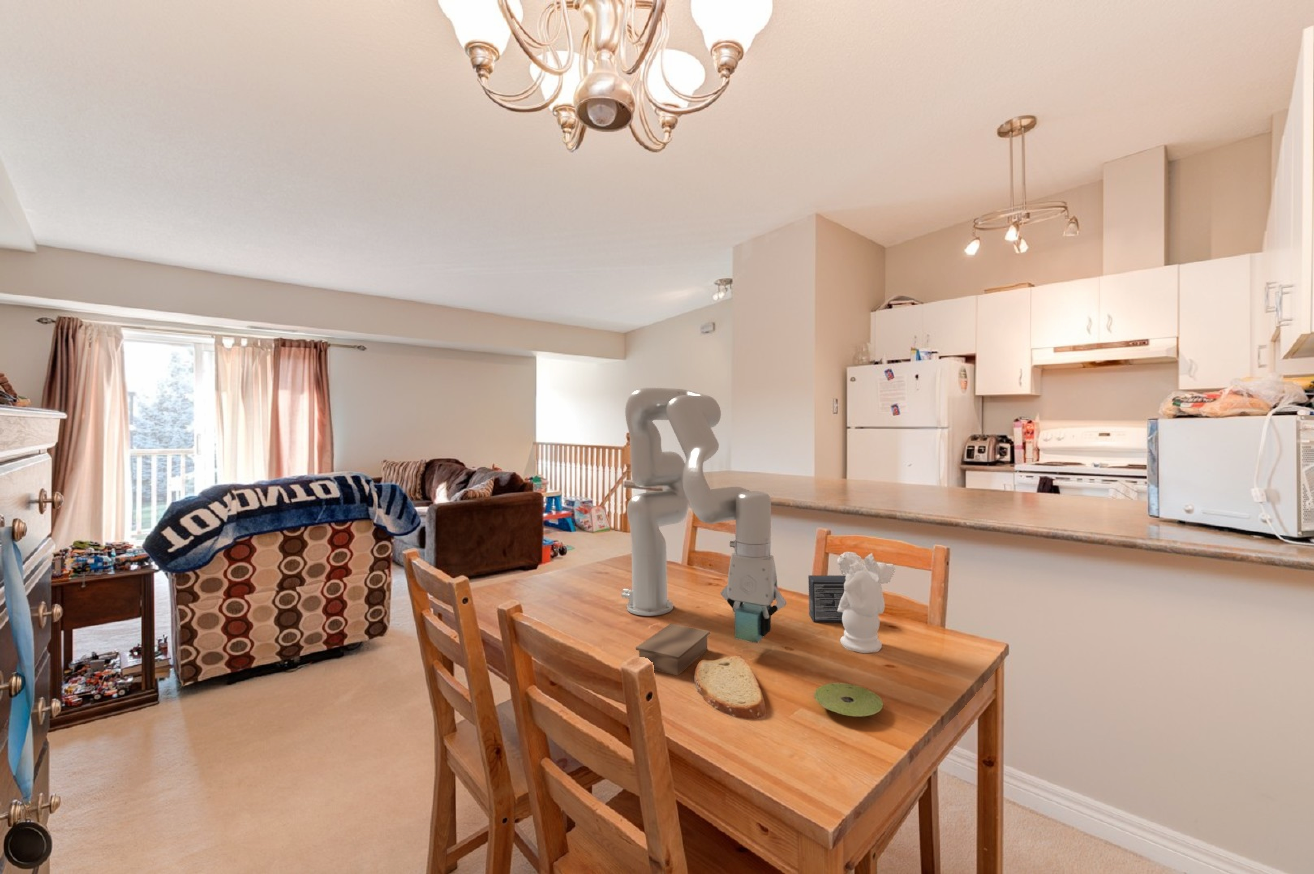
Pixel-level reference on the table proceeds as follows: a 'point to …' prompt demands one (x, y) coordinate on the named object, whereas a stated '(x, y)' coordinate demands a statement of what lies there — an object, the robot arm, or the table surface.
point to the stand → (674, 648)
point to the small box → (825, 597)
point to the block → (748, 622)
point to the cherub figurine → (862, 601)
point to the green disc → (848, 699)
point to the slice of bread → (730, 687)
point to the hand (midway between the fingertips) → (752, 630)
